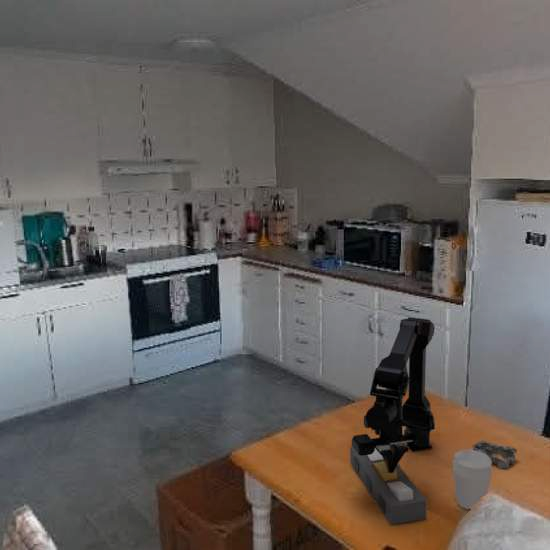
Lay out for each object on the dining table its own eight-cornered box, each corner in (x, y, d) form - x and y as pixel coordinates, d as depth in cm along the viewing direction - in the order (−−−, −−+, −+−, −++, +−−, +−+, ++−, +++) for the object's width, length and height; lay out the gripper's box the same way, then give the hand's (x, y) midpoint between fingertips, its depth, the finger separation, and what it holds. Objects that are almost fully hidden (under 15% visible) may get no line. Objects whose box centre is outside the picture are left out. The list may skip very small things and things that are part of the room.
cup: (446, 493, 143) (447, 450, 141) (480, 490, 144) (482, 448, 141) (460, 515, 135) (462, 470, 132) (496, 512, 135) (499, 467, 133)
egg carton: (518, 462, 157) (519, 449, 156) (503, 472, 152) (504, 458, 151) (484, 447, 165) (484, 434, 164) (469, 456, 160) (469, 443, 159)
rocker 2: (386, 469, 149) (385, 461, 149) (397, 479, 142) (396, 470, 142) (373, 471, 148) (373, 463, 148) (384, 481, 141) (383, 472, 141)
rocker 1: (373, 446, 158) (373, 440, 157) (382, 465, 152) (383, 458, 150) (360, 448, 157) (361, 442, 156) (370, 467, 151) (370, 460, 150)
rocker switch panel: (380, 458, 160) (380, 442, 159) (426, 518, 134) (426, 500, 133) (349, 463, 159) (349, 447, 158) (390, 525, 132) (390, 506, 131)
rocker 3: (401, 490, 140) (400, 480, 140) (413, 499, 133) (412, 489, 133) (387, 492, 140) (386, 483, 140) (399, 501, 133) (398, 492, 133)
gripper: (410, 397, 149) (410, 452, 151) (344, 405, 145) (344, 461, 148) (431, 414, 138) (430, 473, 141) (359, 424, 134) (359, 483, 137)
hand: (390, 472), depth 142 cm, fingers closed, pressing on rocker 2
